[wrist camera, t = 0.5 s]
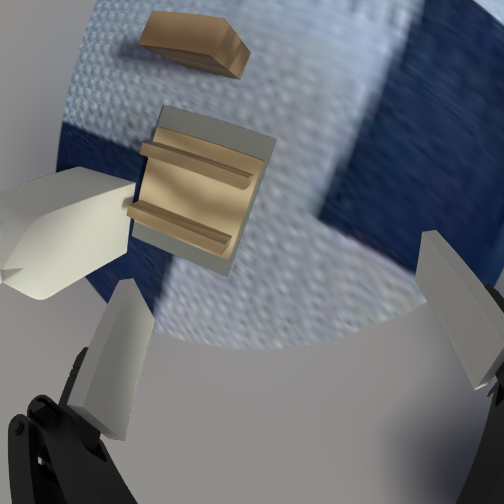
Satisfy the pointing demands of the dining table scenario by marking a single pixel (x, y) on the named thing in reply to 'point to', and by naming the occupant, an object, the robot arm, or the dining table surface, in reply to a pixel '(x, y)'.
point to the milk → (62, 229)
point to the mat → (223, 136)
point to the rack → (195, 190)
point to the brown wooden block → (196, 42)
